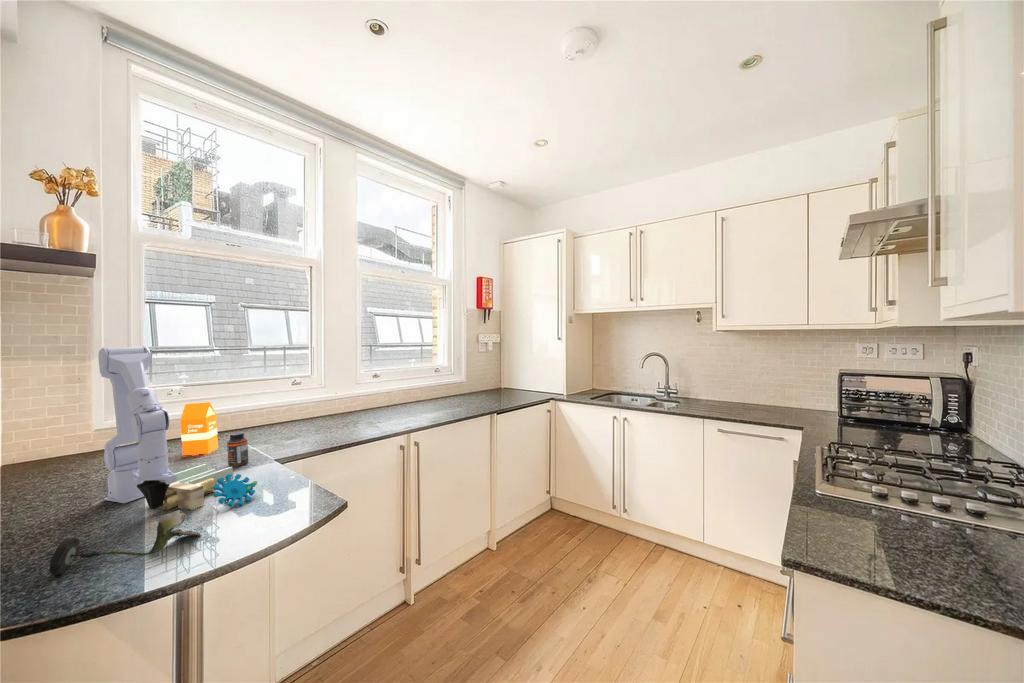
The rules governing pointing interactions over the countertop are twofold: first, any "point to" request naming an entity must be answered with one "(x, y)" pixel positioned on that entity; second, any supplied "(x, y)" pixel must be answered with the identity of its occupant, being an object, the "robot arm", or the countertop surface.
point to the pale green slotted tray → (202, 474)
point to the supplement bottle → (237, 449)
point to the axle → (172, 497)
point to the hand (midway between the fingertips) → (156, 507)
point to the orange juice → (198, 429)
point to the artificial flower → (69, 551)
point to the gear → (234, 490)
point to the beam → (187, 494)
